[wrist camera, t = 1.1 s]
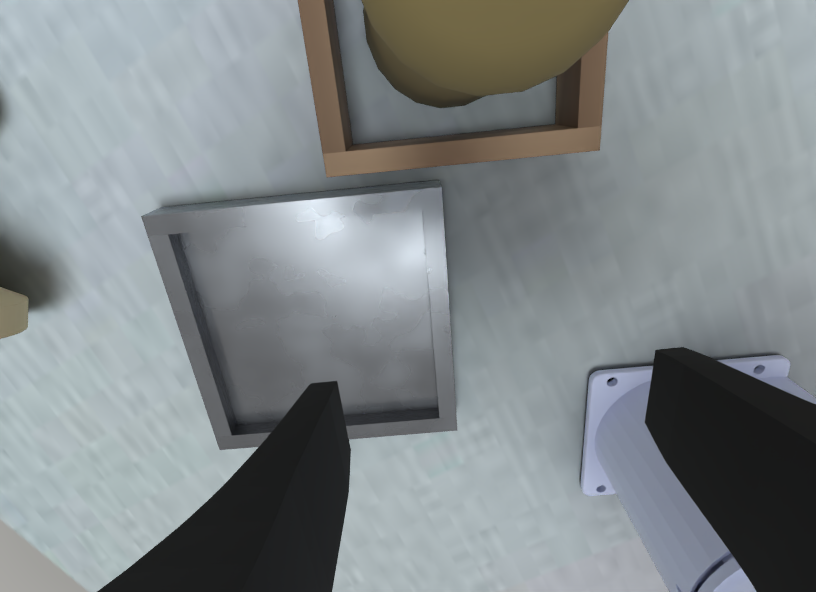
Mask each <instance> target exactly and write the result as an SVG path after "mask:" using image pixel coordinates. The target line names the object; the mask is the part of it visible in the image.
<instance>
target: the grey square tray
mask: <svg viewBox="0 0 816 592" xmlns="http://www.w3.org/2000/svg"><path fill="white" fill-rule="evenodd" d="M141 217H142V220H143V223H144V226H145V229H146V232H147V235H148V238H149V241H150V244H151V247H152V250H153V253H154V256H155V259H156V262H157V265H158V268H159V271H160V274H161V277H162V280H163V283H164V286H165V289H166V292H167V295H168V298H169V301H170V303H171V306H172V309H173V312H174V315H175V318H176V321H177V324H178V327H179V330H180V333H181V336H182V339H183V342H184V345H185V348H186V351H187V354H188V357H189V360H190V363H191V366H192V369H193V372H194V375H195V378H196V381H197V384H198V387H199V390H200V393H201V396H202V399H203V402H204V405H205V407H206V410H207V413H208V416H209V419H210V422H211V425H212V428H213V431H214V434H215V437H216V440H217V443H218V446H219V449H220V450H225V449H237V448H249V447H259V446H260V445H261V444H262V443H263V441H264V440H265V439H266V438H267V437H268V435H269V434H270V433H271V432H272V431H273V429H274V428H275V427H276V426H277V425H278V423H279V422H280V421H281V420H282V418H283V417H284V416H285V415H286V413H287V412H288V411H289V410H290V408H291V407H292V406H293V405H294V403H295V402H296V401H297V399H298V398H299V397H300V396H301V394H302V393H303V392H304V391H305V389H306V388H307V387H308V386H309V385H310V384H311V383H319V382H330V381H337V382H338V387H339V393H340V398H341V403H342V408H343V413H344V418H345V423H346V429H347V434H348V439H358V438H370V437H382V436H394V435H406V434H419V433H431V432H443V431H455V430H457V418H456V402H455V387H454V371H453V355H452V340H451V324H450V308H449V293H448V277H447V261H446V246H445V230H444V214H443V199H442V186H441V184H440V182H439V180H433V181H423V182H413V183H403V184H393V185H382V186H372V187H362V188H352V189H342V190H331V191H321V192H311V193H301V194H291V195H280V196H270V197H260V198H250V199H240V200H229V201H219V202H209V203H199V204H189V205H178V206H168V207H161V208H159V209H156V210H154V211H152V212H150V213H148V214H145V215H143V216H141Z"/></svg>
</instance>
